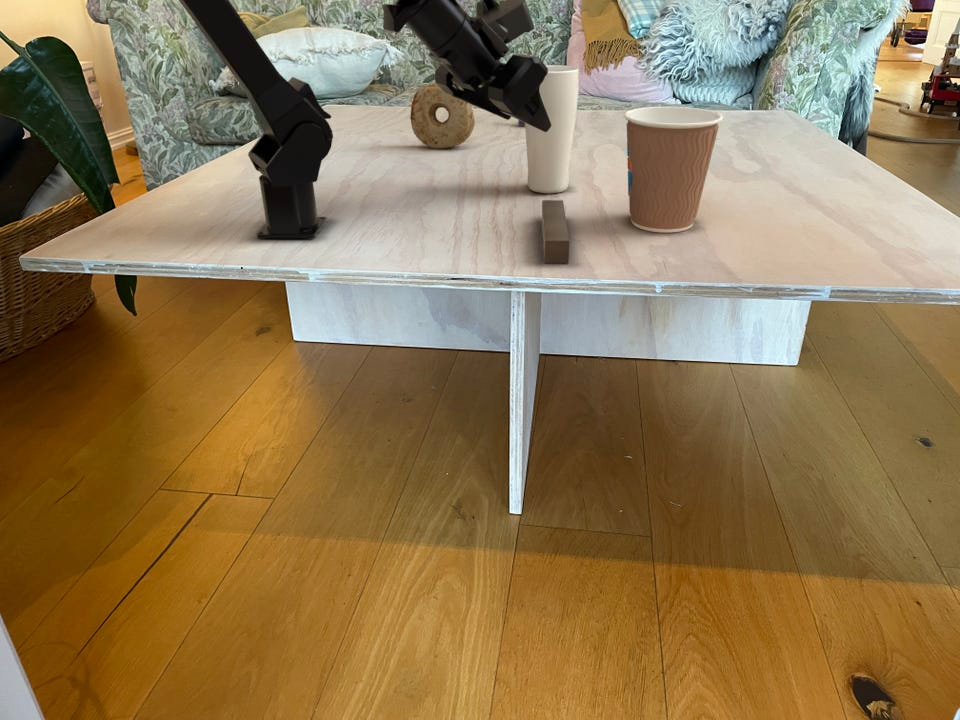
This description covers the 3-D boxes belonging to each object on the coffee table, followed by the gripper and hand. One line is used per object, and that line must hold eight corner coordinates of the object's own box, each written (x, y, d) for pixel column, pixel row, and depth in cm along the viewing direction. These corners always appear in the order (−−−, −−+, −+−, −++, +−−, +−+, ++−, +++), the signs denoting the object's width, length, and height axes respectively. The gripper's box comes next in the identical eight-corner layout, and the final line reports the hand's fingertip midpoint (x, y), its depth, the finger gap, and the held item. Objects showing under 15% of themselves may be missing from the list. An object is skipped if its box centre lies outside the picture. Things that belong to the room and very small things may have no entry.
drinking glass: (561, 199, 94) (567, 73, 86) (513, 192, 96) (514, 70, 89) (581, 186, 99) (587, 66, 92) (535, 180, 102) (537, 63, 95)
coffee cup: (643, 205, 91) (652, 103, 85) (723, 220, 85) (739, 112, 79) (599, 226, 84) (606, 116, 78) (683, 244, 78) (697, 127, 72)
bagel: (408, 149, 120) (404, 84, 115) (415, 144, 123) (412, 80, 118) (470, 151, 118) (469, 85, 113) (476, 146, 121) (475, 82, 116)
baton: (568, 263, 74) (569, 240, 73) (544, 263, 74) (545, 240, 73) (562, 220, 86) (563, 200, 85) (541, 220, 86) (542, 200, 85)
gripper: (535, -28, 75) (614, 80, 85) (454, -29, 90) (530, 63, 99) (467, 60, 76) (553, 157, 85) (398, 45, 90) (479, 129, 100)
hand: (528, 122), depth 92 cm, fingers open, 9 cm apart
